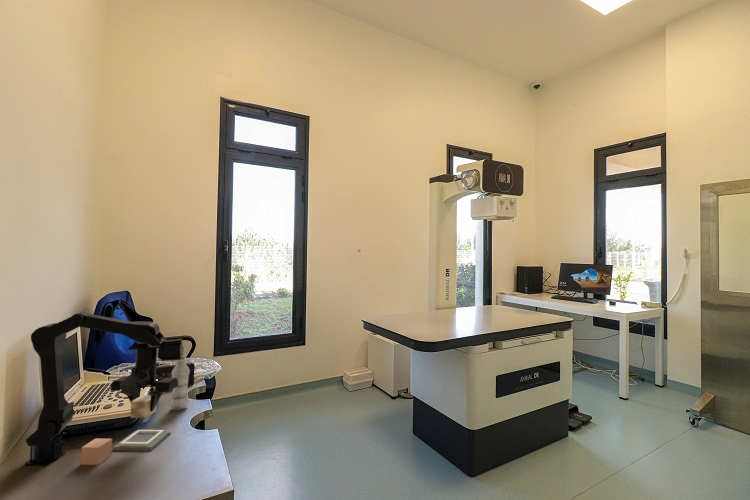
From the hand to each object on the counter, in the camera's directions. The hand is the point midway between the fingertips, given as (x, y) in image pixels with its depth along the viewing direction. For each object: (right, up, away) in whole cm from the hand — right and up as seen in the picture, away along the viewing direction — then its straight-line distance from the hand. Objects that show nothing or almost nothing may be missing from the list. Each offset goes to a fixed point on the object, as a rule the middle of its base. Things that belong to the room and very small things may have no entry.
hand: (143, 410), depth 110 cm
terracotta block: (-8, -11, -9) cm, 16 cm away
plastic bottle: (-4, -12, +26) cm, 29 cm away
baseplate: (-1, -11, +1) cm, 11 cm away
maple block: (0, -1, 0) cm, 1 cm away
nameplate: (-22, -13, +49) cm, 55 cm away
